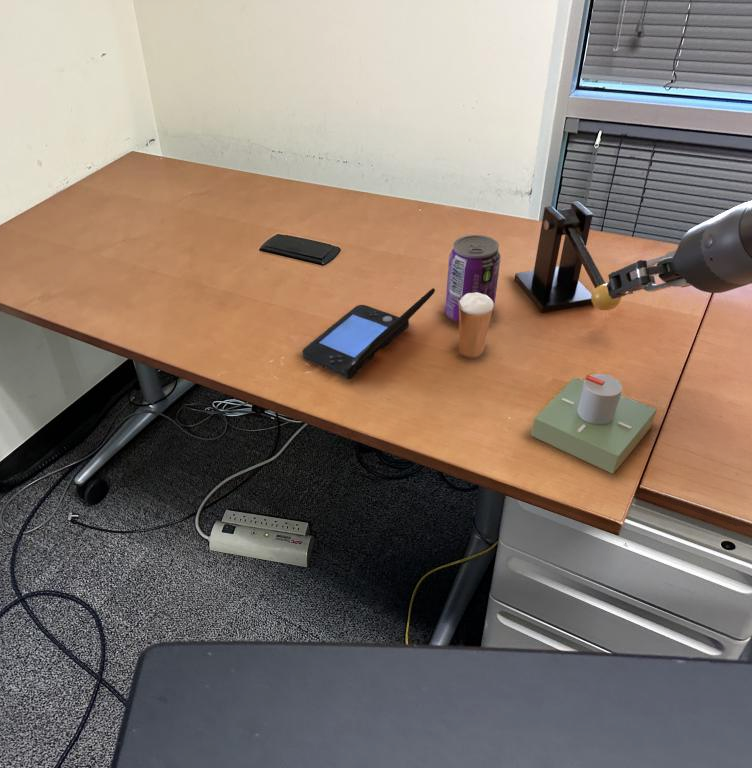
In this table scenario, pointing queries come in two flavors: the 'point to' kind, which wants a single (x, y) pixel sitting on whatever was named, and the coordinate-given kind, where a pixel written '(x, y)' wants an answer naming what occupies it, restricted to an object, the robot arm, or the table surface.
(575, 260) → the latch bracket
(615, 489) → the table surface
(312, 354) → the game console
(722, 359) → the table surface
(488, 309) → the milkshake
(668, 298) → the table surface
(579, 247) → the latch lever
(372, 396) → the table surface
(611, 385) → the lock knob
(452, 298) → the beverage can
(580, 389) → the green dial knob panel
